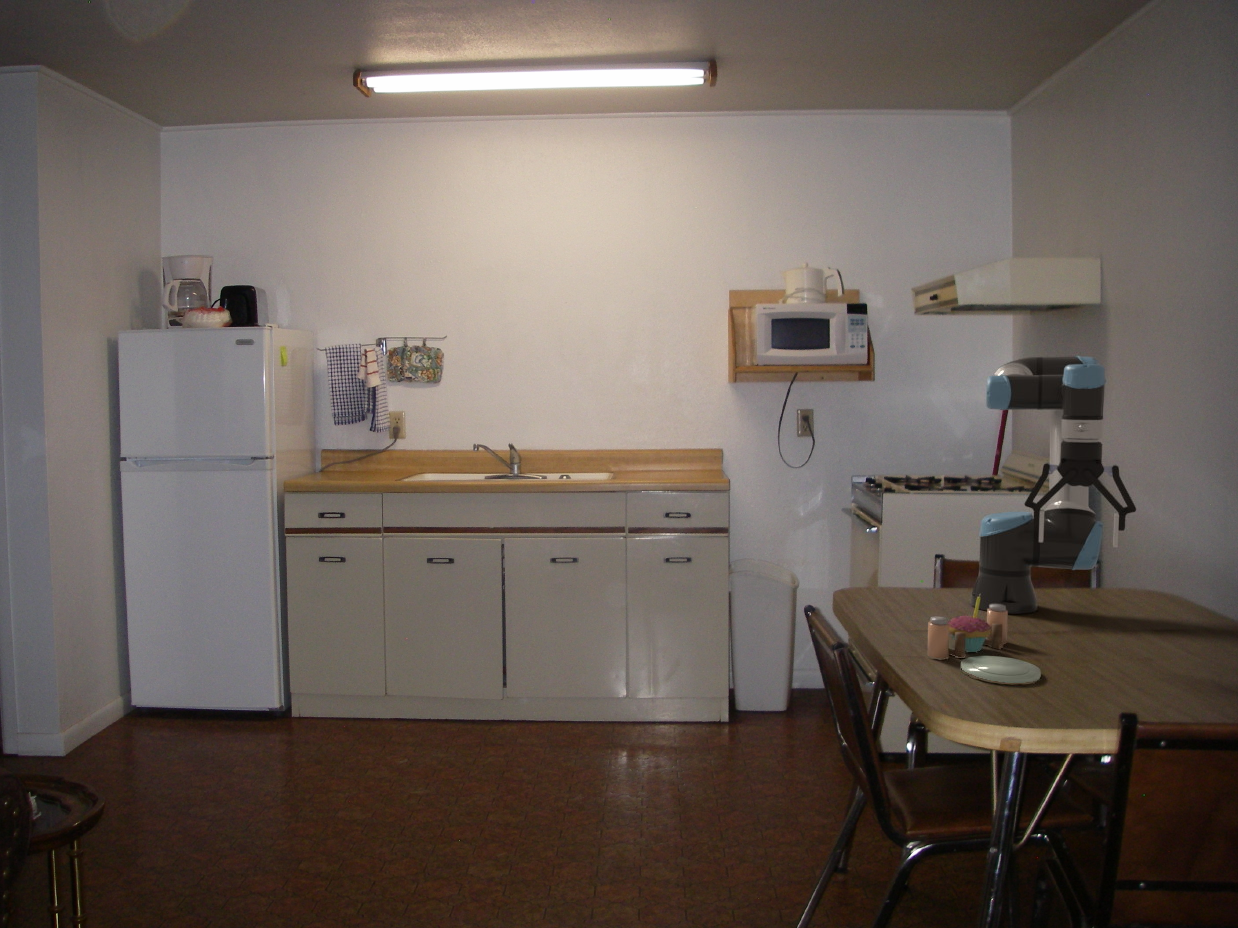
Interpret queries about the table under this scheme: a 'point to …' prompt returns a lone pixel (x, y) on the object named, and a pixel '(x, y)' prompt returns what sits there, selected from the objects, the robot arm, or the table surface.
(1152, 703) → the table surface
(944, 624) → the shaker
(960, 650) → the rack
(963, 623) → the cupcake
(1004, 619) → the shaker
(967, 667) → the plate
